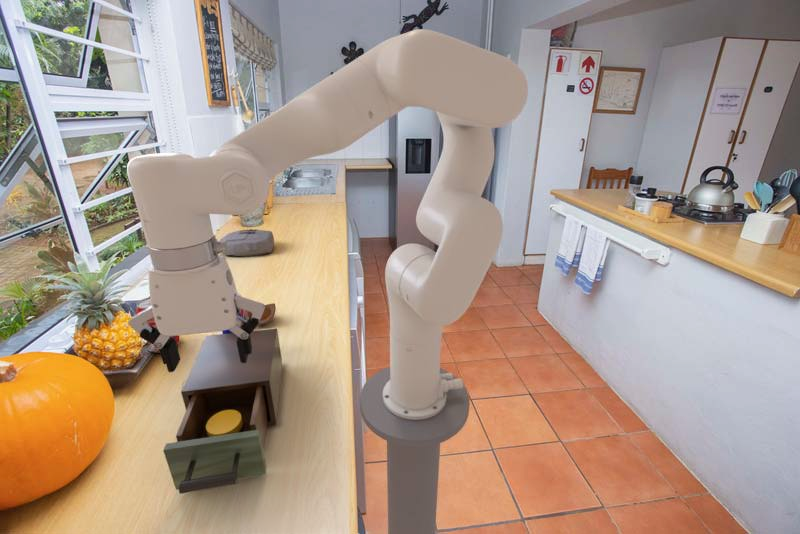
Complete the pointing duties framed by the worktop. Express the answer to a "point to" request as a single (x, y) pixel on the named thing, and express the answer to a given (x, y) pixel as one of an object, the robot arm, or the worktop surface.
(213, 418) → the yellow and grey cylinder
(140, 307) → the soda can
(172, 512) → the worktop surface
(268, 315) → the fruit slice
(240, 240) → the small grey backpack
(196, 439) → the drawer
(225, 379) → the cabinet
